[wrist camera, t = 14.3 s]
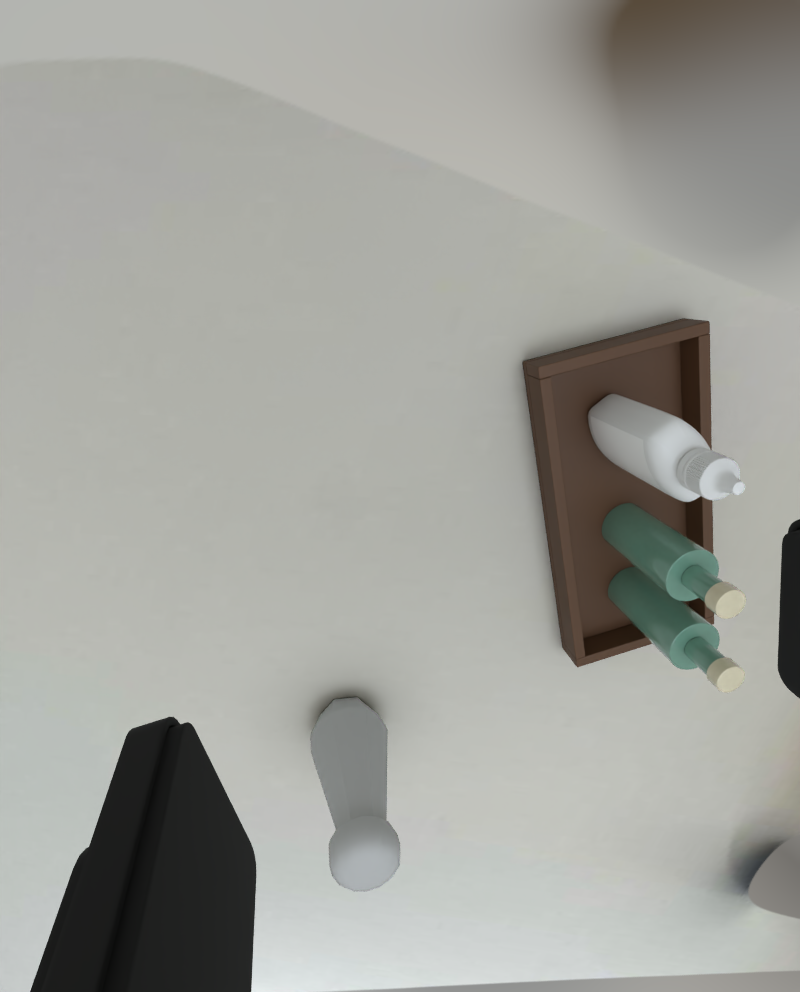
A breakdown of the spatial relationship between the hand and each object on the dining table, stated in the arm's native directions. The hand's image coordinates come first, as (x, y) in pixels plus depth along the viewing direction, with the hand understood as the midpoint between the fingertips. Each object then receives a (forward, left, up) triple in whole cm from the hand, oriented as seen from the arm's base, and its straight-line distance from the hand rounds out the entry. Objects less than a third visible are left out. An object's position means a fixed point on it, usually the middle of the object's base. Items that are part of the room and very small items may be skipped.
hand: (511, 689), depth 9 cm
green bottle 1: (+16, +18, -29) cm, 38 cm away
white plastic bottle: (+8, +18, -30) cm, 35 cm away
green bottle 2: (+21, +18, -29) cm, 40 cm away
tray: (+14, +18, -30) cm, 37 cm away
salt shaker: (+26, -6, -30) cm, 40 cm away
